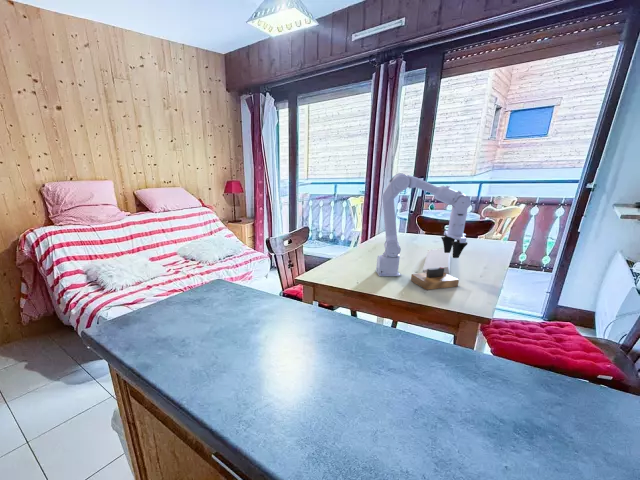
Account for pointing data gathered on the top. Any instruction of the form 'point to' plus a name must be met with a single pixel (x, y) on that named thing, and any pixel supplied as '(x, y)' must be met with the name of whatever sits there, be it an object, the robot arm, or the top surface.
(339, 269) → the top surface
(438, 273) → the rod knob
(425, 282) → the panel
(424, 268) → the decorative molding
